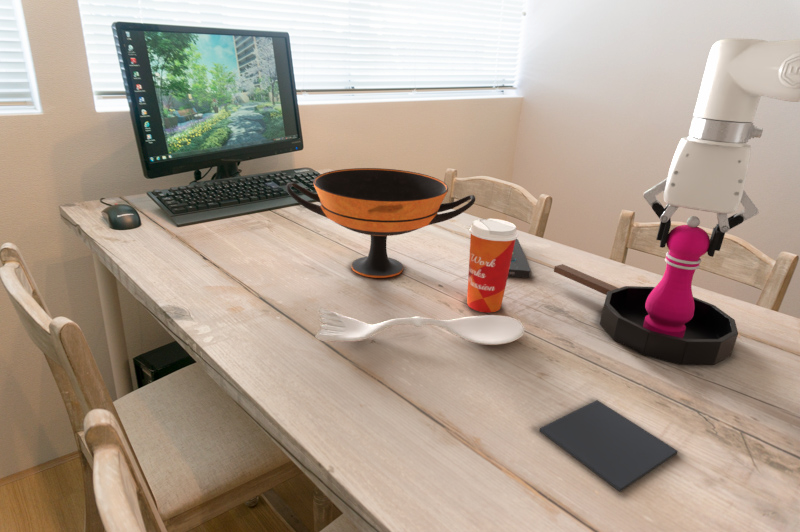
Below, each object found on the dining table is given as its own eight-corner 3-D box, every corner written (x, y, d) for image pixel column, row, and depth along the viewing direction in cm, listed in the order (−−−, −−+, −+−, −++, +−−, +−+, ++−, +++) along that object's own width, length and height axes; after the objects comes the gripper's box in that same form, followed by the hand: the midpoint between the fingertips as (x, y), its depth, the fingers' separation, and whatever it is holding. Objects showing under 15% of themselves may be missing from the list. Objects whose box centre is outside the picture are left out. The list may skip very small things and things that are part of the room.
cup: (271, 287, 96) (268, 192, 89) (303, 240, 119) (302, 162, 113) (470, 302, 95) (482, 207, 88) (462, 252, 118) (471, 174, 112)
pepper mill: (643, 338, 86) (675, 220, 78) (636, 318, 92) (664, 207, 85) (691, 345, 84) (728, 226, 77) (680, 325, 91) (713, 213, 83)
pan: (751, 344, 86) (759, 322, 85) (688, 378, 76) (696, 354, 74) (586, 273, 111) (590, 256, 109) (520, 292, 100) (524, 272, 99)
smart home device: (490, 267, 106) (483, 235, 125) (489, 275, 107) (482, 242, 126) (532, 270, 106) (518, 238, 125) (531, 278, 107) (517, 244, 125)
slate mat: (677, 453, 61) (678, 450, 61) (619, 491, 55) (620, 488, 55) (596, 402, 69) (597, 399, 69) (539, 430, 63) (539, 428, 63)
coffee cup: (452, 298, 96) (460, 219, 90) (489, 292, 99) (499, 215, 94) (478, 319, 89) (489, 235, 83) (517, 311, 92) (530, 230, 87)
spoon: (317, 324, 84) (317, 304, 83) (512, 324, 88) (514, 305, 87) (315, 354, 76) (314, 333, 74) (530, 353, 80) (533, 332, 78)
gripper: (784, 136, 76) (746, 253, 83) (654, 123, 82) (628, 232, 89) (794, 142, 70) (752, 269, 76) (652, 128, 76) (625, 245, 83)
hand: (685, 248), depth 83 cm, fingers open, 6 cm apart
